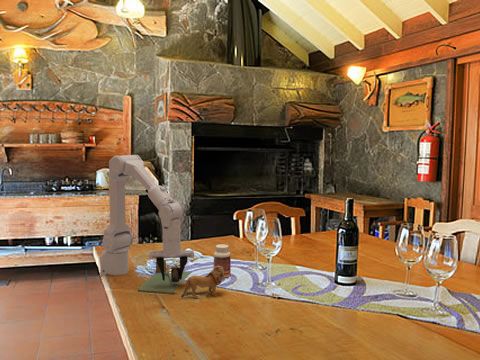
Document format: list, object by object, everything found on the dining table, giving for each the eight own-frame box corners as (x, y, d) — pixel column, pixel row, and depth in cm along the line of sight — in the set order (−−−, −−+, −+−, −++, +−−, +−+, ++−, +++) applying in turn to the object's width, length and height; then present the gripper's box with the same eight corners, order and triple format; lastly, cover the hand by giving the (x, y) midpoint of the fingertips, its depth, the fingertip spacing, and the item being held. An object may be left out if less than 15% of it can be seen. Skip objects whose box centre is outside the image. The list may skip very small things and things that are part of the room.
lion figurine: (220, 289, 146) (220, 263, 145) (227, 294, 141) (227, 267, 140) (178, 296, 139) (178, 268, 138) (183, 302, 134) (183, 273, 133)
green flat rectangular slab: (137, 292, 142) (137, 288, 142) (161, 272, 163) (161, 269, 163) (173, 294, 140) (173, 291, 140) (192, 274, 161) (192, 271, 161)
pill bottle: (233, 276, 159) (234, 246, 158) (219, 279, 156) (219, 249, 154) (224, 271, 164) (225, 243, 163) (210, 274, 161) (210, 245, 160)
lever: (169, 286, 144) (169, 269, 144) (164, 270, 161) (163, 255, 161) (182, 285, 145) (182, 268, 145) (174, 269, 162) (174, 254, 162)
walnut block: (155, 272, 159) (155, 261, 159) (158, 269, 162) (157, 259, 162) (164, 272, 159) (164, 262, 159) (166, 270, 162) (166, 259, 162)
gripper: (148, 242, 139) (149, 284, 141) (194, 241, 142) (194, 282, 143) (149, 237, 146) (150, 277, 148) (193, 236, 148) (193, 275, 150)
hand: (172, 279), depth 146 cm, fingers open, 5 cm apart
